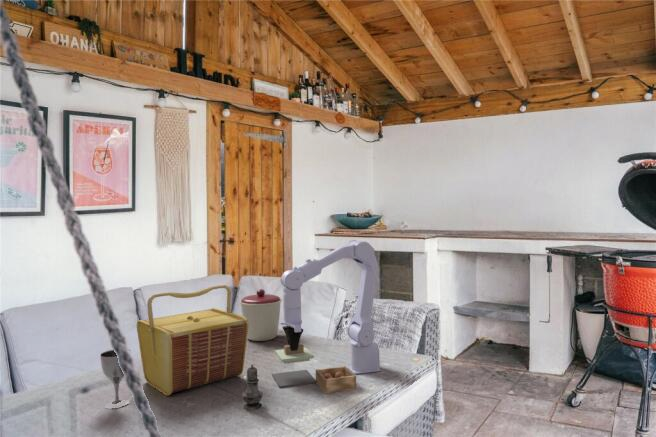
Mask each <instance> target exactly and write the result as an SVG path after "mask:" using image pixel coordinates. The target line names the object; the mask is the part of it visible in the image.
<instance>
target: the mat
mask: <svg viewBox="0 0 656 437" xmlns="http://www.w3.org/2000/svg"><path fill="white" fill-rule="evenodd" d="M271 376H272V378H273V380H274V382H275V383H276V385H277V386H278V388H279V389H284V388H291V387H299V386H306V385H311V384H312V385H313V384H317V381H316V378H314V377H313V375H312V374H311V372H310V371H309V370H308V369H301V370H300V369H299V370H292V371H285V372H276V373H271Z"/></svg>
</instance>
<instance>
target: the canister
mask: <svg viewBox="0 0 656 437" xmlns="http://www.w3.org/2000/svg"><path fill="white" fill-rule="evenodd" d="M265 292H266V291H265V290H264V289H262V288H261V289H257V290H256V294H252V295H246V296H244V297H243V298H241V299H240V300H239V304H240V306H241V314H242V315H241V316H244V317H245V318H246V319H247V320H248V335H247V340H249V341H253V342H265V341H267V342H268V341H270V340H273V339H275V338H276V336H278V333H279V325H280V316H281V314H280V313H281V303H282V301H283V298H281V297H279V296H278V295H275V294H267V293H265Z"/></svg>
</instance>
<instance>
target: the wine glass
mask: <svg viewBox="0 0 656 437" xmlns="http://www.w3.org/2000/svg"><path fill="white" fill-rule="evenodd" d="M128 350H129V351H130V352H131V349H128ZM100 365H101V370H102V373H103V375H104V376H105V377H106V378H107V379H108V380H109V381H111V383H112V384H113V387H114V388H113V389H114V393H115V394H114V395H115V397H114V398H115V399H114V400H115V401H113V400H112V401H113V402H112V404H117V403H120V402H121V401H122V400H119V399H120V398H119V388H120V384H121V381H122V379H124V377H125V376H124V374H123V372H122V370H121V368H120V366H119V363H118V358H117V355H116V353H115V352H114V349H109V350H106V351H103V352H102V353H100Z"/></svg>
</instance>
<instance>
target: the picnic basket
mask: <svg viewBox="0 0 656 437" xmlns="http://www.w3.org/2000/svg"><path fill="white" fill-rule="evenodd" d="M217 289H226V292H227V294H226V295H227V297H226V310H223V309H220V308H216V307H212V308H210V309H209V308H208V309H204V310H197V311H191V312H185V313H180V314H173V315H169V316H168V315H167V316H162V317H156V318H154V314H153V306H152V305H153V304H152V303H153V300H154V299H156V298H159V297H165V296H166V297H168V296H169V297H173V298H176V299H177V298H178V299H179V298H180V299H188V298H195V297H196V298H197V297H201V296H202V295H206V294H208V293H210V292H211V291H213V290H217ZM231 302H232V290H231V287H230V286H228V285H226V284H221V285H215V286H210V287H207V288H203V289H201V290H199V291H198V290H197V291H193V292H186V293H185V292H184V293H183V292H170V291H169V292H159V293H154V294H152V295H151V296H150V297H149V298H148V299H147V303H146V306H147V315H148V319H139V320H137V322H136V333H137V339H138V346H139V352H140V357H141V365H142V373H143V376H144V379H145V381H146V383H147V384H148V385H149V386H151V387H153V389H155V388H156V389H155V390H157V391H158V392H160V393H161V392H162V393H161V394H163V395H164V396H170V395H172V394H173V393H177V392H182V391H185V390H189V389H192V388H196V387H200V386H203V385H207V384H210V383H214V382H217V381H221V380H225V379H228V378H229V379H230V378H232V377H233V378H234V377H240V376H242V374H243V373H244V372H243V371H244V366H245V357H246V350H247V342H248V338H247V335H248V320H247V319H246V318H245V317H244V316H243V315H240V314H237V313H232V312H231Z"/></svg>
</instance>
